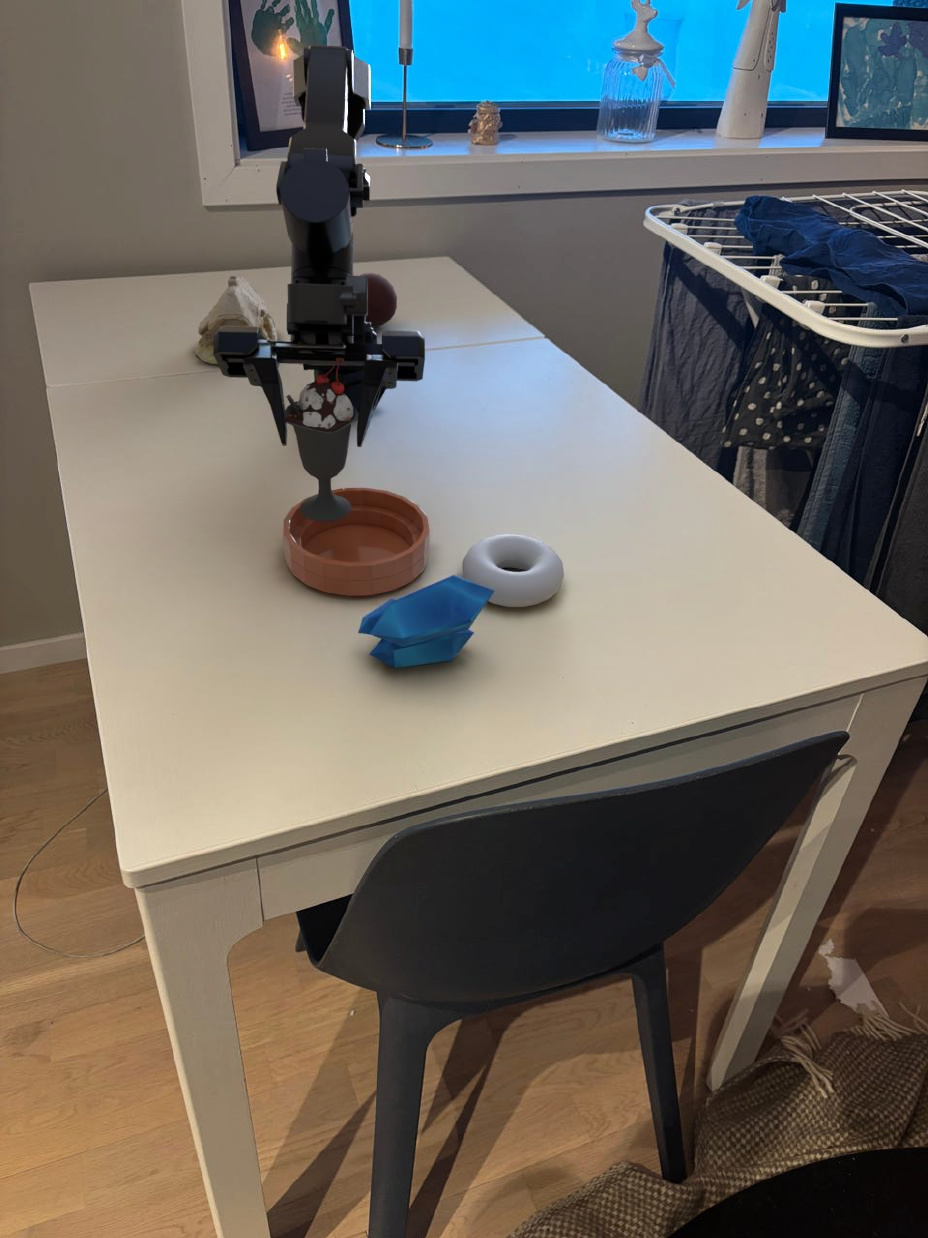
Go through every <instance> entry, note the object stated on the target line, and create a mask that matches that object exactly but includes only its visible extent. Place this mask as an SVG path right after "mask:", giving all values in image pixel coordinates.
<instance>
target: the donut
mask: <svg viewBox="0 0 928 1238" xmlns="http://www.w3.org/2000/svg"><path fill="white" fill-rule="evenodd" d="M505 568H514V569H518V570H522V571H509V570H505ZM461 569H462V570H461V571H462V572H461V573H462V578H463V579H466V580H468V581H471V582H473V583H476V584H479V585H481V586H484V587H486V588H489V589H491V590H494V593H493V594H492V596H491V597H490V599H489V600H488V602H489V603H491V604H493V605H497V606H501V607H506V608H525V607H532V606H536V605H538V604H541V603H543V602H545V601H549V599H551V598H552V597H553V596H554V595H555V594H556V593H557V592H558V591H559V590H560V588H561V585H562V583H563V580H564V578H565V572H564V571H565V570H564V565H563V561H562V558H560V556H559V554H558V553H557V552H556V550H555V549H553V548H552V547H551V546H550V545H548V544H547V543H545V542H544V541H542V540H539V539H536V538H534V537H532V536H527V535H522V534H512V533H511V534H510V533H503V534H495V535H491V536H488V537H486V538H483V539H481V540H478V541H477V542H476V543H475V544H473V545H472V546H470V547H469V549H468V551H466V553H465V555H464V557H463V559H462V562H461Z"/></svg>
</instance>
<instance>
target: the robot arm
mask: <svg viewBox="0 0 928 1238" xmlns="http://www.w3.org/2000/svg"><path fill="white" fill-rule="evenodd" d="M353 51H354V50H353V49H348V48H347V47H346V46H344V45H343V46H339V45H324V44H323V45H321V44H310V45H309V46H308V47H307V46H305V47H303V54H302V55H300V56H298V57H296V58H295V59H293V60H292V89H293V90H292V93H293V95H292V96H293V98H292V99H293V101H294V104H295V106H296V107H300V115H301V119H302V123H303V129H301V130H300V131H298V132H297V133H295V134H294V135H292V136H291V137H290V138H289V143H288V148H287V159H286V160H283V159H282V160H281V161H280V164H279V170H278V175H277V180H276V187H275V189H276V190H275V192H276V197H277V202H278V206H281V207H282V212H283V217H284V222H285V227H286V232H287V236H288V239H289V241H290V243H291V265H290V269H291V271H290V275H291V278H290V283H287V303H286V332H287V335H288V336H290V341H286V340H285V341H282V340H279V341H278V340H277V341H270V340H263V339H262V336H261V332H260V329H259V327H238V326H220V328H219V329H218V330H217V331H216V332H215V334H214V338H213V355H214V357H215V359H216V361H217V363H218V364H217V365H218V368H219V370H220V373H221V374H222V376H225V377H228V378H235V379H236V378H237V379H238V378H239V379H242V378H243V379H247V380H248V382H249V384H250V385H251V386H253V387H260V388H261V389H262V391H263V393H264V395H265V398H266V400H267V402H268V404H269V406H270V410H271V413H272V416H273V420H274V423H275V426H276V429H277V430H276V431H277V433H278V437H279V440H280V443H281V446H283V447H286V446H287V445H288V423H286V422H284V420H283V419H284V414H285V410H286V406H285V396H284V386H283V381H282V377H281V374H280V370H279V369H280V364H288V365H289V364H293V365H294V364H295V365H302V367H303V371H313V382H315V381H316V379H317V377H318V376H320V375H325V374H327V373H328V372H329V371H330V370H331V368H332V367H333V366H334V364H335V362H336V359H337V358H343V359H344V361H343V362H342V363H341V364H340V366H339V368H338V381H339V382H340V383H341V384H343V385H344V391H343V394H345V395H346V396H347V397H348V398H349V400H350V402H351V404H352V405H353V406H354V407H355V408H356V410H357V411H358V413H359V415H358V416H359V417H358V418H357V423H356V447H357V448H362V447H363V444H364V441H365V439H366V435H367V432H368V430H369V427H370V424H371V421H372V419H373V417H374V413H375V411H376V409H377V407H378V405H379V403H380V401H381V399H382V397H383V396H384V394H385V392H386V391H387V390H394V389H396V388H397V384H398V383H397V382H419V381H422V380H424V369H425V361H426V340H425V337H424V336H423V335H422V333H421V332H420V331H419V330H394V329H393V330H392V329H391V330H389V329H381V343H378V335H377V333H376V332H375V331H374V327H371V322H366V316H367V315H368V277H367V276H360V275H354V250H355V249H354V248H355V247H354V246H355V245H354V241H355V239H354V232H353V218H356V216H357V214H358V209H364V205H365V202H370V200H371V177H370V176H369V175H368V174H367V170H366V168H365V167H364V166H365V165H364V163H357V162H358V161H357V159H358V158H357V143H358V142H359V140H360V138H361V136H362V134H363V133H364V131H365V127H366V125H365V120H366V119H365V117H366V116H365V114H366V113H365V110H366V111H371V106H372V105H371V99H372V98H371V97H372V96H371V66H370V64H369V63H368V62H365V61H364V60H362V59H361V58H358V57H357V56H355V55H354V53H353ZM338 365H339V361H338V362H337V363H336V365H335V366H334V368H333V370H332V371H331V372H330V373H329V374H328V375H327V378H328V379H329V384H332V383H333V382H337V381H336V370H337V367H338Z"/></svg>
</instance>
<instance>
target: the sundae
mask: <svg viewBox="0 0 928 1238" xmlns="http://www.w3.org/2000/svg"><path fill="white" fill-rule="evenodd" d="M338 361H339V365H338V367H337V370H336V381H337V382H333V383H332V384H329V379H328V378H327V375H328V374H329V373H330V372H331V371H332V370H333V368H334V366H335V365H336V363H337V362H338ZM343 361H344V359H343V358H337V359H336V362H335V364H334V366H333V367H332V368H331V370H330V371H329V372H328V373H327V374H325V375H320V376H318V377H317V379H316V381H315V382H314V381H313V382H310V383H306V386H304V388H303V389H301V391H300V393H299V397H298V400H297V401H295V400H294V398H293V397H292V396H291V395H290V394H288V395H286V399H287V401H288V403H289V404H288V406H287V407H285V414H284V419H283V420H284V422H286V423H287V425H290V426H292V427H293V430H294V434H295V438H296V442H297V448H298V454H299V458H300V461H301V464H302V468H303V469H304V471H305V472H306V473H307V474H309V475H310V476H311V477H314V478H315V479H316V480H317V482H318V483H317V484H318V489H317V490H318V491H317V494H318V495H316V494H314V496H313V495H311V496H308V497H309V498H308V497H306V498H307V499H306V498H305V499H306V500H305V501H303V502H302V503H301V506H300V511H301V513H302V514H303V515H304V516H305V517H306V518H308V519H310V520H313V521H317V522H333V521H337V520H340V519H342V518H344V517H346V516H347V515H348V514H349V513H350V511H351V505H350V503H349V501H348V500H346V499H345V498H343V497H340V496H337V495H333V494H332V490H333V489H332V479H333V478H334V477H337V476H338V475H339V474H340V473H341V472H342V471H343V470H344V468H345V466H346V462H347V458H348V451H349V443H350V435H351V430H352V429H351V428H352V424H353V423H355V421H358V417H359V416H358V415H359V413H358V411H357V410H356V408H355V407H354V406H353V405H352V404H351V402H350V400H349V398H348V397H347V396H346V395H345V394H343V391H344V385H343V384H341V383H340V382H339V381H338V368H339V366H340V364H341V363H342V362H343Z"/></svg>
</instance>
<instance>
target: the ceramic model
mask: <svg viewBox="0 0 928 1238" xmlns="http://www.w3.org/2000/svg"><path fill="white" fill-rule="evenodd" d="M227 285H228V287H227V288H226V289H225V290H224V291H223V293H222V294H221V295H220V297H219V298H218V300H217V302H216V303H215V304H214V306H213V307H212V308H211V309H210V311H209V312H208V314H207V315H206V316H205V317H204V318H203V320H201V322H200V323H199V324H198V327H197V329H198V330H197V331H198V334H199V336H200V339H199V340H198V344H197V346H196V348H195V349H194V353H195V355H196V356H198V358H200V359H201V360H202V361H204V362H205V363H207V364H208V363H209V364H212V365H218V363H217V361H216V359H215V357H214V355H213V338H214V334H215V332H216V331H217V330H218V329H219V328H220V326H238V327H259V329H260V332H261V336H262V339H263V340H270V341H278V334H277V329H276V322H275V319H274V317H273V316H272V314H271V313H269V312H268V311H267V304H266V302H265V301H264V299H263V297H262V296H261V295H260V294H259V292H258V291H257V290H256V288H255V287H254V286H253V285H252V284H251V283H249V282H248V281H247V280H245V279H244V278H243V276H234V275H230V277H229V278H228V280H227Z"/></svg>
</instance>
